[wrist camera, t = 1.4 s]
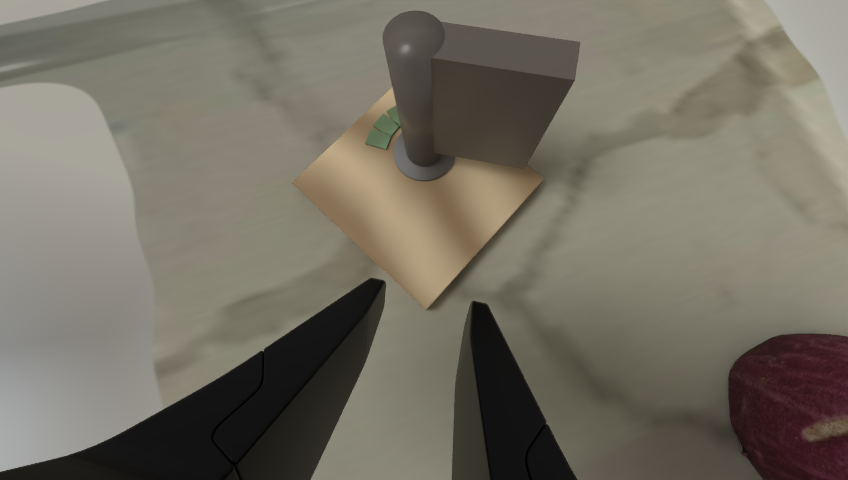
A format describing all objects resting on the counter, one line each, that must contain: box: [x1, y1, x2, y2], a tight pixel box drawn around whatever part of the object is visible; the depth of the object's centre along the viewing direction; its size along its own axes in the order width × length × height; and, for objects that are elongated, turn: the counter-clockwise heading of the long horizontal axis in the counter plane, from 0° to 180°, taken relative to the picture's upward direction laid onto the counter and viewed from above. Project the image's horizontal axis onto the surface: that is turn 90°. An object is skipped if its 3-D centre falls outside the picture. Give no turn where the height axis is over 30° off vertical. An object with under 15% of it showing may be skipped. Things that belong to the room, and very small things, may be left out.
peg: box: [383, 11, 580, 169], centre depth 18 cm, size 6×8×10 cm
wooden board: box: [292, 87, 544, 310], centre depth 23 cm, size 12×13×2 cm
